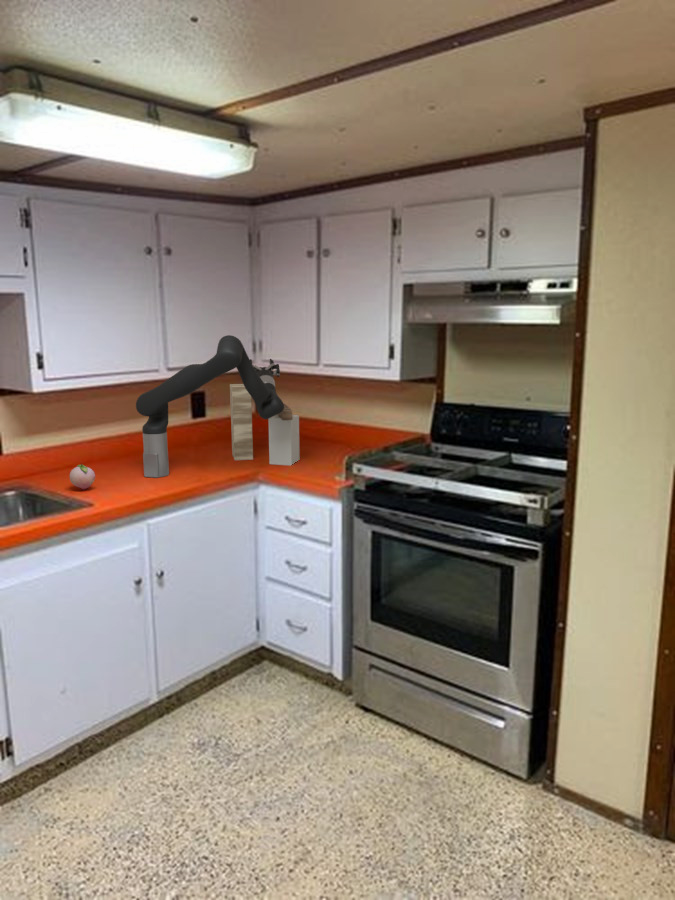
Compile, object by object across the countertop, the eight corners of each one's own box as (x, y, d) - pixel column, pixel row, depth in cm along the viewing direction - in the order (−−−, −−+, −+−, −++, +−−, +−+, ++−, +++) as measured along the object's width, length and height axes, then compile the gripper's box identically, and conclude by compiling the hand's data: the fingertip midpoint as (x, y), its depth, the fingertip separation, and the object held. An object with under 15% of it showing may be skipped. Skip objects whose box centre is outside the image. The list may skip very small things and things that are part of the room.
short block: (291, 465, 290) (290, 418, 286) (269, 464, 292) (268, 417, 288) (299, 460, 299) (298, 415, 295) (278, 459, 302) (277, 414, 298)
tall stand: (253, 459, 302) (250, 386, 295) (234, 460, 300) (232, 387, 293) (250, 453, 313) (247, 383, 307) (232, 454, 311) (229, 384, 305)
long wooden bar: (292, 420, 282) (292, 410, 281) (282, 420, 281) (282, 410, 280) (284, 412, 302) (284, 403, 301) (275, 413, 301) (275, 403, 300)
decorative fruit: (66, 489, 252) (64, 463, 250) (87, 485, 258) (85, 459, 256) (77, 494, 246) (75, 467, 244) (99, 490, 252) (97, 463, 250)
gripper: (247, 390, 284) (243, 368, 295) (282, 389, 287) (276, 367, 299) (248, 376, 279) (244, 353, 290) (283, 375, 282) (277, 353, 294)
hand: (260, 360), depth 294 cm, fingers open, 8 cm apart
